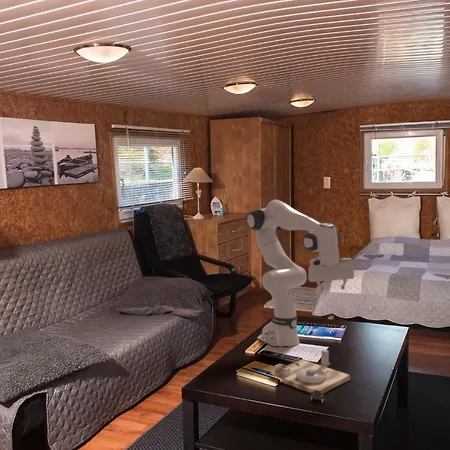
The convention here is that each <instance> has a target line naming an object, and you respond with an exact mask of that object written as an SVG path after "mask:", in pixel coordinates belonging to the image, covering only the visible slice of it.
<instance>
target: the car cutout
mask: <svg viewBox="0 0 450 450" xmlns="http://www.w3.org/2000/svg"><path fill="white" fill-rule="evenodd" d="M309 397H310V401H312V400H316V401H320V402H321V403H324V402H326V395H325V393H324V394H322V392H321V391H318V390H314V392H311V393H310V395H309Z"/></svg>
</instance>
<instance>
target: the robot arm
mask: <svg viewBox="0 0 450 450" xmlns="http://www.w3.org/2000/svg"><path fill="white" fill-rule="evenodd" d="M246 223H247V226H248V227H249V229H250V230H252V231H256V232H255V239H256V243H257V246H258V248H259V251H260V253H261V256H262V258H263V260H264V262H265V263H266V264H267V265H268V266H270V267H272V268H274V269H272V270H271V269H270V270H269V271H266V272H265V273H264V274H263V275H262V279H261V282H262V286H263V288H264V290H265V291H267V292H269V293H270V295H271V297H272V300H273V309H274V310H273V311H274V314H272V315H270V319H272V320H271V321H270V322H268V323H267V324H266V325H265V326H264V327H263V328H262V331H261V334H259V336H257V340H258V339H262V340H264V339H265V340H264V341H265V342H266V343H265V342H264V343H265V344H267V343H268V344H267V345H269V344H270V345H269V346H271V345H273V346H279V347H283V346H288V347H293V346H297V345H299V344H300V339H299V335H298V328H297V324H298V316H297V302H296V300H295V298H293V296H290V294H289V290H290V289H295V288H299V287H301V286H302V285H304V284H305V283H306V282H307V279H308V281H309V282H310V283H316V284H317V286H318V288H319V291H320V292H324V286H322V285H320V284H321V282H326V281H327V282H329V281H341V280H342V282H343V284H341V285H340V289H341V290H345V289H346V284H347V282H348V281H347V280H352V279H354V278H355V271H354V265H355V263H354V260H353V259H352V258H350V257H346V258H342V257H341V258H340V251H339V247H338V246H339V245H340V243H341V235H340V233H339V232H338V229H336V226H335V224H332V223H327V222H325V223H324V222H322V223H321V222H319V221H317V220H316V219H314V218H313V217H310V216H309V215H306V214H303V213H302V212H299V211H298V210H296V209H294V208H293V207H291V206H290V205H288V204H287V203H285V202H283V201H281V200H279V199H272V200H271V201H269V202H268V203H267V205H266V207H265V208H259V209H253V210H252V211H250V212H248V214H247V216H246ZM281 229H282V230H283V229H284V230H286V231H307V232H306V233H305V234H304V235H303V238H302V244H303V247H304V249H305V251H307V252H308V253H311V252H312V253H314V252H318V256H316V257H314V258H312V259H310V260H309V267H308V271H307V272H306V270H305V268H303V267H301V266H300V265H298V264H296V263H295V262H293V260H291V258H289V257H288V255H287V254H286V252H285V251H284V249H283V247H282V245H281V242H280V240H279V239H278V237H277V234H276V231H280V230H281ZM307 274H308V276H307ZM273 346H272V347H273Z"/></svg>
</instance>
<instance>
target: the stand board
mask: <svg viewBox="0 0 450 450" xmlns="http://www.w3.org/2000/svg"><path fill="white" fill-rule="evenodd" d="M320 365H321V364H316V363H315V362H312V361H308V360H305V359H301V358H300V359H298V360H297V361H294V362H292V363H290V364H288V365H285V364H282V363H278V364H276V365H275V366H274V367H275V368H274V371H272V372H270V373H269V375H270V374H272V375H274V376H277V377H279V378H281V379H282V380H283V384H286V385H288V386H291V387H293V388H295V389H298V390H301V391H304V392H307V393H308V394H309V393H311V392H314V390H318V391H321V392H322V394H324V395H325V393H327V392H329V391H331V390H333V389H334V388H336V387H338V386H341V385H343V384H344V383H346V382H348V381H350V380H351V375H350V374H349V373H345V372H342V371H339V370H335V369H333V368H329V367H327V368H325V369H323V370H321V371H323V372H324V373H325V380H324V381H323V382H320V383H313V384H312V383H304V382H301V381H299V380H298V379H297V377H296V373H297V371H299V370H301V369H306V368H313V369H314V368H316V367H318V366H320Z"/></svg>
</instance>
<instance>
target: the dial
mask: <svg viewBox="0 0 450 450" xmlns="http://www.w3.org/2000/svg"><path fill="white" fill-rule="evenodd" d="M320 353H321V357H320V358H321V361H320V363H321V364H319V365H320V366H318V367H316V368H314V369H313V368H306V369H301V370H299V371H297V373H296V377H297V379H298V380H299V381H301V382H304V383H312V384H313V383H320V382H323V381H324V380H325V373H324V372H323V371H321V370H323V369H325V368H328V366H330V365H331V362H329V358H330V357H329V354H330V353H329V350H327V349H322V350H321V352H320Z"/></svg>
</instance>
